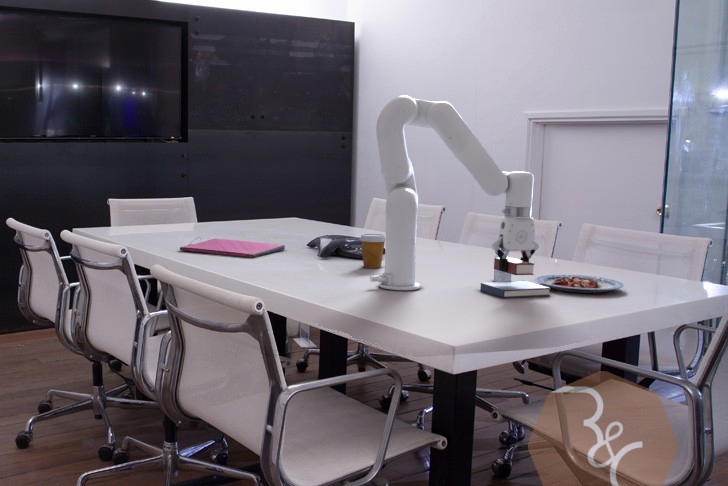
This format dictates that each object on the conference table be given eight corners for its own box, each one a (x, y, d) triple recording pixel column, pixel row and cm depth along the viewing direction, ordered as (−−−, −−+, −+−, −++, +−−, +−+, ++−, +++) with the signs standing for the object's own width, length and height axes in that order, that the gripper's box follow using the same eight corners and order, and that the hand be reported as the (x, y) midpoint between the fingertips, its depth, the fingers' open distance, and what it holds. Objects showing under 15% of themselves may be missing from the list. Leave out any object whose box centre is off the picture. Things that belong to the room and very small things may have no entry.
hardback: (503, 298, 227) (503, 289, 226) (480, 290, 238) (480, 282, 238) (549, 295, 230) (550, 287, 230) (525, 288, 242) (525, 280, 242)
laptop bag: (285, 241, 327) (252, 249, 305) (285, 250, 328) (252, 259, 305) (208, 234, 349) (172, 241, 326) (208, 243, 349) (172, 251, 327)
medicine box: (511, 285, 248) (512, 258, 247) (496, 284, 249) (498, 258, 248) (507, 281, 256) (508, 255, 255) (493, 280, 257) (494, 254, 256)
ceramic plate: (516, 283, 250) (517, 274, 250) (576, 279, 260) (577, 270, 259) (579, 298, 227) (580, 288, 226) (642, 292, 236) (643, 283, 236)
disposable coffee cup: (389, 266, 286) (390, 234, 284) (379, 269, 278) (380, 237, 276) (365, 264, 291) (365, 232, 289) (355, 267, 283) (355, 235, 281)
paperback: (515, 275, 228) (515, 263, 227) (493, 268, 238) (494, 257, 238) (533, 274, 229) (534, 263, 229) (511, 268, 240) (512, 257, 239)
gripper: (499, 213, 226) (495, 273, 228) (550, 214, 230) (545, 272, 232) (485, 211, 233) (481, 269, 235) (535, 211, 237) (530, 268, 239)
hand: (513, 270), depth 234 cm, fingers closed on paperback, 6 cm apart
